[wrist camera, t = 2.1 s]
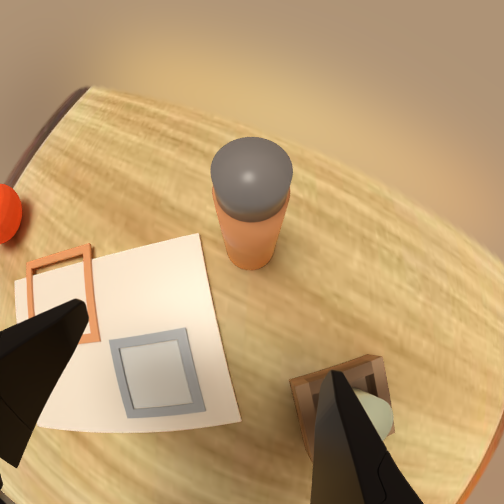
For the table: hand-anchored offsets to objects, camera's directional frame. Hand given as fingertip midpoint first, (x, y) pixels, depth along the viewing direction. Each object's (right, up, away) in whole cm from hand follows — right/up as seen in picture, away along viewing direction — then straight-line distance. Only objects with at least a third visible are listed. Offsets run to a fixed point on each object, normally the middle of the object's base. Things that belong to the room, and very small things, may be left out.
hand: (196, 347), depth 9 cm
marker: (+2, +4, +15) cm, 15 cm away
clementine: (-27, +6, +16) cm, 31 cm away
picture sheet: (-12, -5, +12) cm, 18 cm away
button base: (+9, -10, +11) cm, 17 cm away
